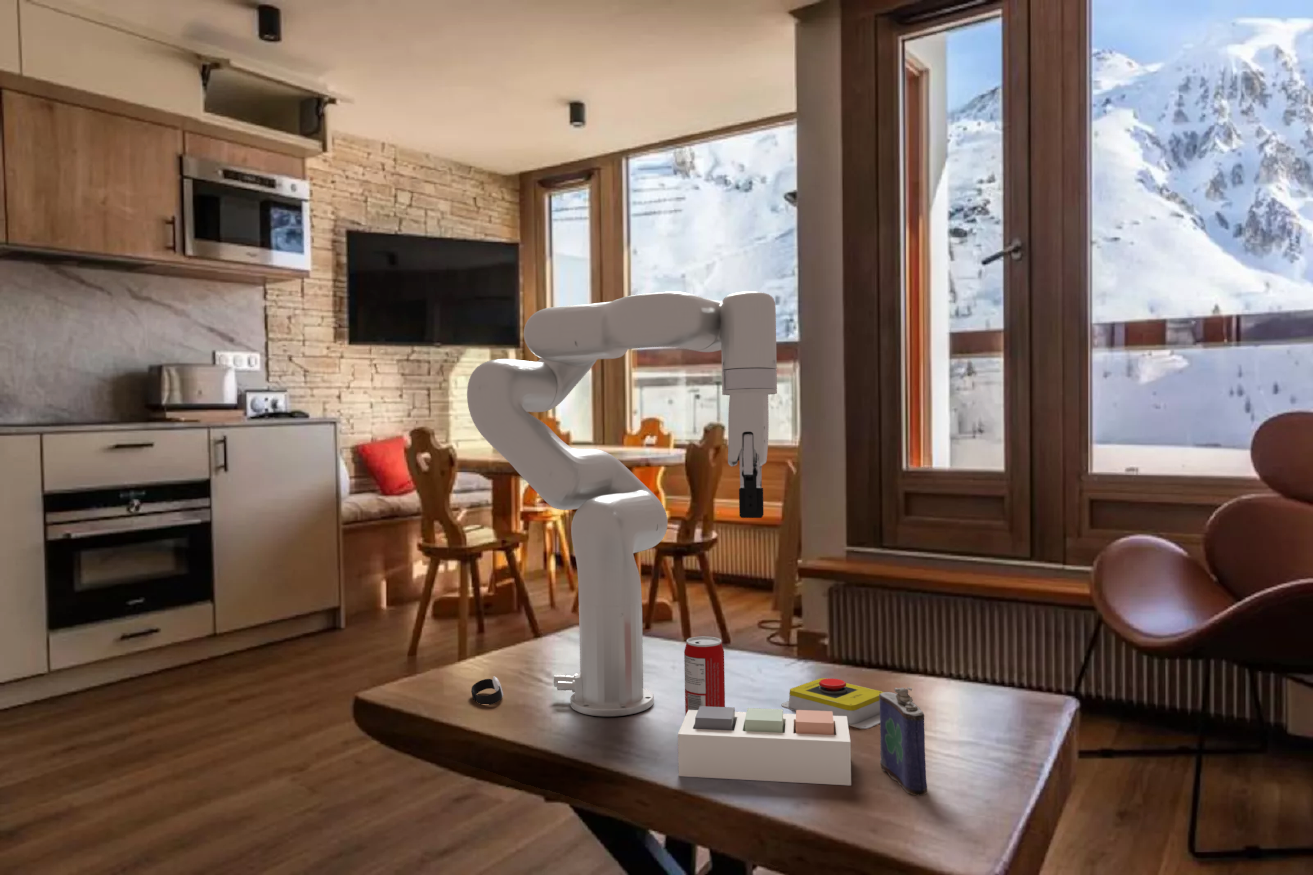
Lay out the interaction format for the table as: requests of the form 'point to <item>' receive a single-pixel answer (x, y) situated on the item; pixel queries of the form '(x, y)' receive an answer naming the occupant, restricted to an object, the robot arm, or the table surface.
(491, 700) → the watch
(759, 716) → the sage key
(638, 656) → the robot arm
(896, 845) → the table surface
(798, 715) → the terracotta key
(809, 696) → the emergency button
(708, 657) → the soda can
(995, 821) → the table surface
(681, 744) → the key block
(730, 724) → the charcoal key
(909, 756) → the flask
